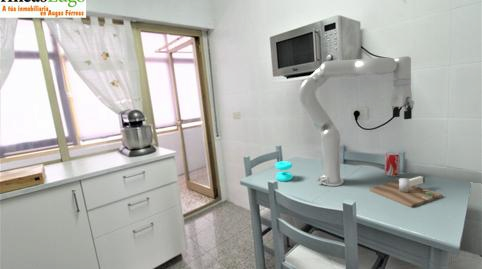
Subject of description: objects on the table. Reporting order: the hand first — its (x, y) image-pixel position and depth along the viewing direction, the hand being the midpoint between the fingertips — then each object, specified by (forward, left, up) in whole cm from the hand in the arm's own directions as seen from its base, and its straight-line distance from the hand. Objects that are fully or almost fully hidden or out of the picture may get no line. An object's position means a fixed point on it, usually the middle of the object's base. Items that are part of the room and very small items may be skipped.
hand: (401, 117), depth 121 cm
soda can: (+7, +10, -35) cm, 36 cm away
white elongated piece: (-4, -9, -33) cm, 34 cm away
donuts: (-46, +39, -35) cm, 70 cm away
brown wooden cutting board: (-10, -9, -34) cm, 37 cm away
